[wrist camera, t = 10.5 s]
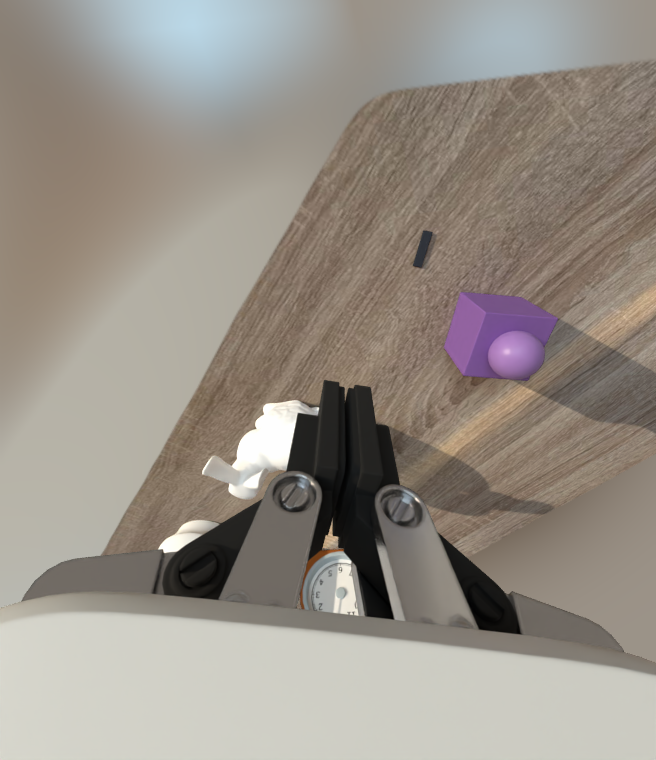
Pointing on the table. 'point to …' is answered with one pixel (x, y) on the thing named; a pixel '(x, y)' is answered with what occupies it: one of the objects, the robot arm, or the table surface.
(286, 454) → the rabbit
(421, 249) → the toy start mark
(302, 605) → the alarm clock
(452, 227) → the table surface
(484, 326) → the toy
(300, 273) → the table surface
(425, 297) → the table surface
